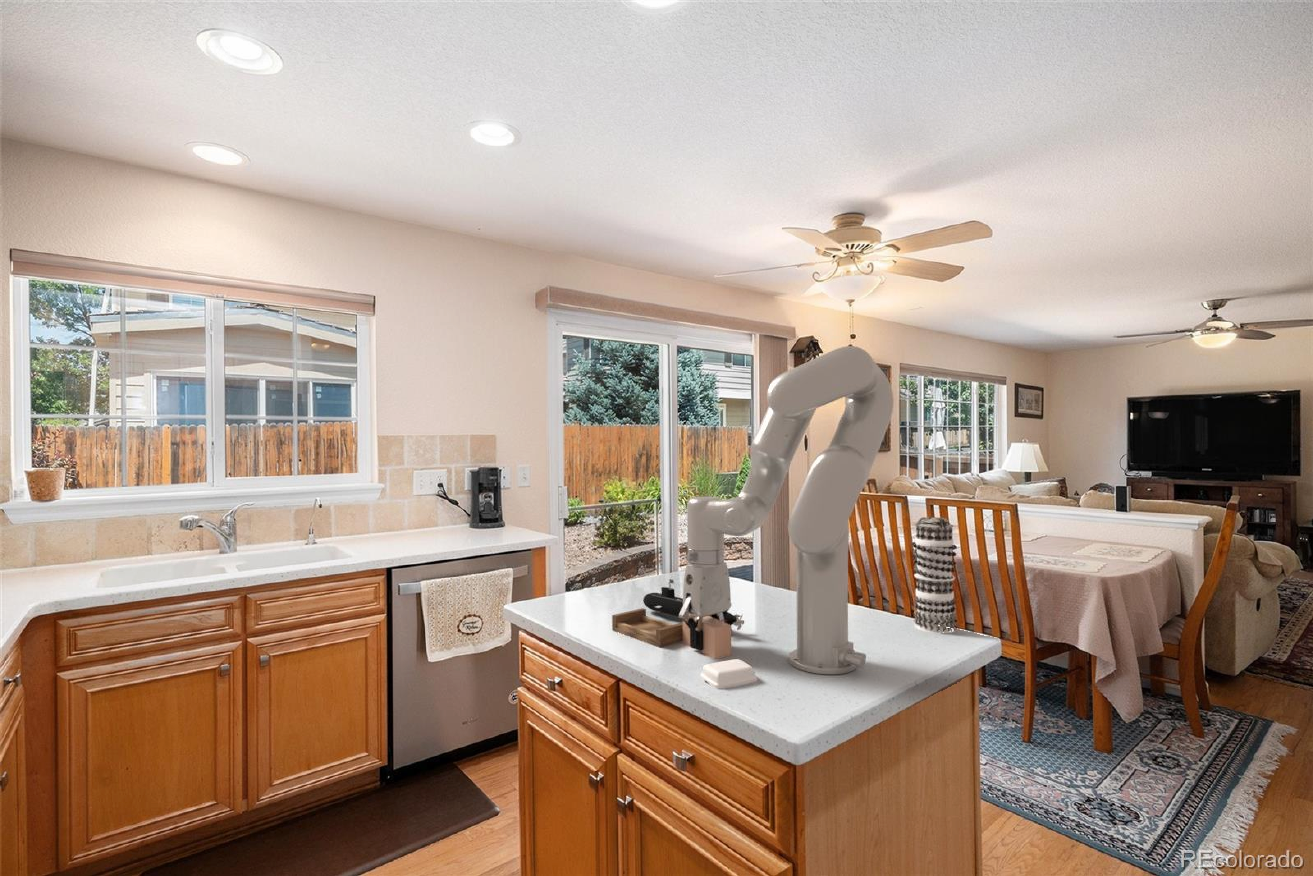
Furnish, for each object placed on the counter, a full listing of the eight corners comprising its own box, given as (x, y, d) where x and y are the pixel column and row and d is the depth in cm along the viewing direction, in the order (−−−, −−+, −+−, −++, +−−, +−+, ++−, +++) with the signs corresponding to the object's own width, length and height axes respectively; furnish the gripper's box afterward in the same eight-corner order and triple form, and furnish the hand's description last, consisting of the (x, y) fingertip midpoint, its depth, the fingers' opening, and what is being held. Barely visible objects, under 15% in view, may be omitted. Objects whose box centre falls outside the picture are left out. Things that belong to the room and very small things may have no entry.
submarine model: (752, 635, 139) (750, 589, 139) (732, 643, 134) (730, 595, 134) (655, 610, 162) (653, 571, 162) (635, 616, 157) (633, 576, 157)
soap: (739, 671, 118) (739, 655, 119) (760, 683, 112) (760, 666, 112) (697, 678, 115) (697, 662, 115) (716, 692, 109) (716, 675, 109)
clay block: (731, 655, 126) (731, 625, 126) (714, 659, 124) (714, 628, 124) (698, 639, 137) (698, 611, 137) (682, 642, 135) (682, 614, 135)
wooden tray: (690, 638, 137) (690, 622, 137) (660, 647, 131) (660, 630, 131) (642, 623, 149) (642, 608, 149) (612, 630, 143) (612, 615, 143)
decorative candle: (949, 638, 136) (948, 521, 137) (906, 630, 143) (905, 518, 143) (963, 629, 143) (962, 518, 143) (921, 621, 149) (920, 515, 150)
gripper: (689, 565, 122) (689, 660, 122) (746, 554, 133) (747, 641, 133) (663, 559, 128) (663, 650, 127) (720, 550, 139) (720, 633, 139)
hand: (706, 645), depth 130 cm, fingers closed on clay block, 4 cm apart
